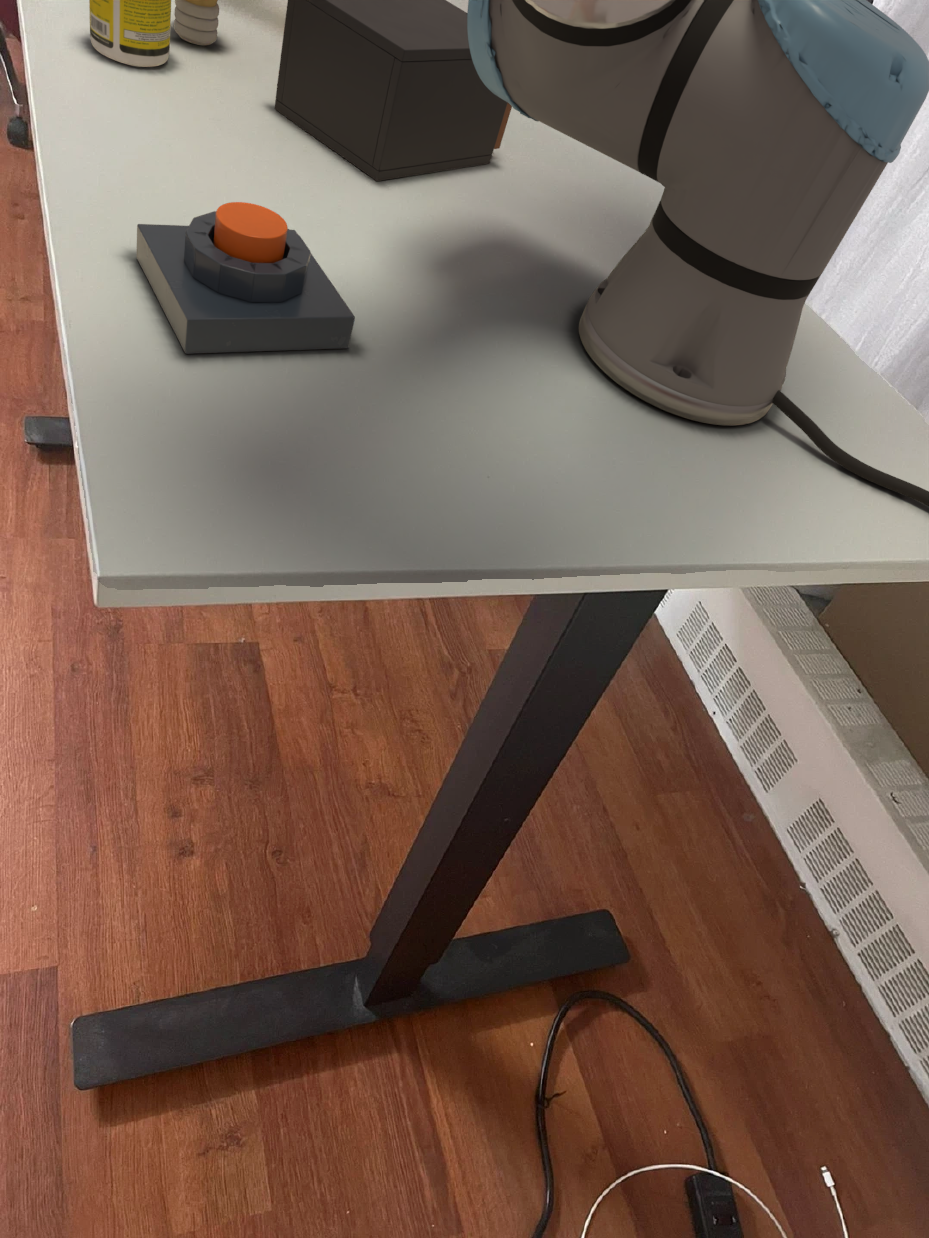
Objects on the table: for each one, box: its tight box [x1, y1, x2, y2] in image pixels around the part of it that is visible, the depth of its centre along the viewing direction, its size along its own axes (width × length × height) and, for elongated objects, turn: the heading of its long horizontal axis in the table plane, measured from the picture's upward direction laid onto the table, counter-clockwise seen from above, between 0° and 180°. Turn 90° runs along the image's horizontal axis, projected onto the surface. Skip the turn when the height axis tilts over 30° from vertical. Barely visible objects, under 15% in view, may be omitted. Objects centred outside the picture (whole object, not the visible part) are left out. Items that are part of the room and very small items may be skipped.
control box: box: [135, 210, 356, 355], centre depth 54 cm, size 10×10×4 cm
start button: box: [214, 201, 289, 263], centre depth 52 cm, size 4×4×2 cm
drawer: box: [494, 103, 513, 150], centre depth 77 cm, size 15×11×8 cm
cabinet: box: [274, 0, 508, 182], centre depth 75 cm, size 15×13×10 cm
